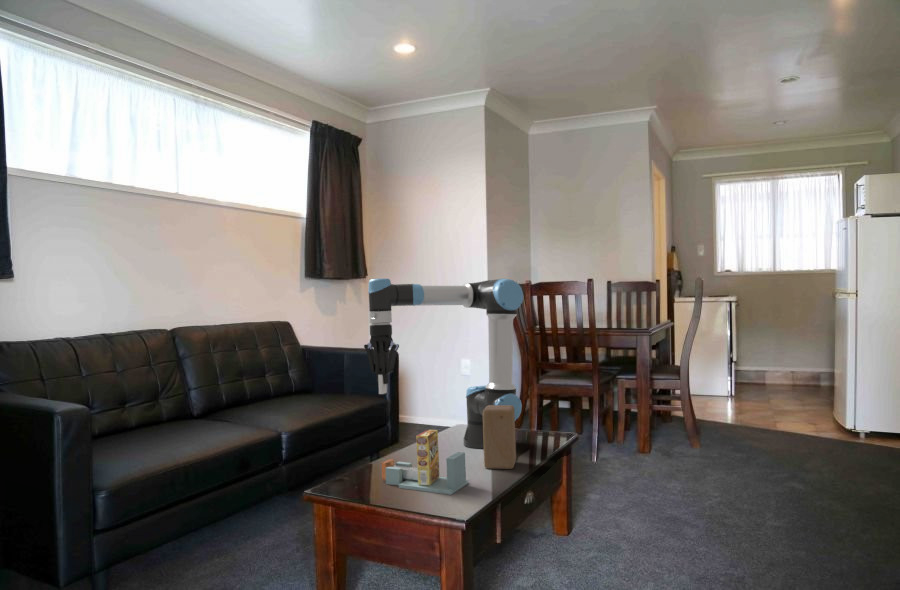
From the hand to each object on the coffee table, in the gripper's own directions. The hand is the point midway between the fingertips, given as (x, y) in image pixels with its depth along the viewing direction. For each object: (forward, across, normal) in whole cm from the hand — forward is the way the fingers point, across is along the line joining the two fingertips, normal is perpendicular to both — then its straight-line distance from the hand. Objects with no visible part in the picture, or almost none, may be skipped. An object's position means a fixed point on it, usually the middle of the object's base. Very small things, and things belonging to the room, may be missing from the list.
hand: (382, 393), depth 205 cm
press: (+26, +20, -8) cm, 34 cm away
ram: (+26, +12, -8) cm, 30 cm away
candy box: (+26, +21, -8) cm, 34 cm away
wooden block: (+27, +34, +20) cm, 48 cm away
